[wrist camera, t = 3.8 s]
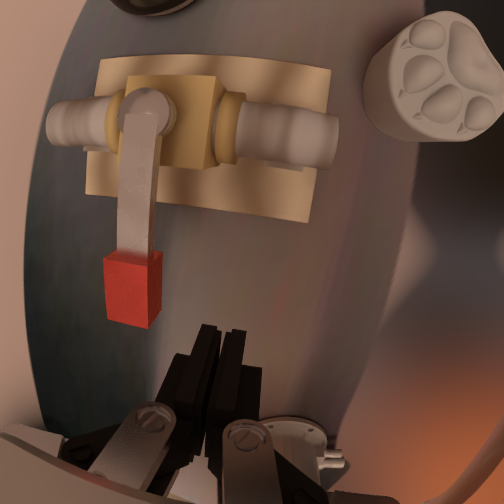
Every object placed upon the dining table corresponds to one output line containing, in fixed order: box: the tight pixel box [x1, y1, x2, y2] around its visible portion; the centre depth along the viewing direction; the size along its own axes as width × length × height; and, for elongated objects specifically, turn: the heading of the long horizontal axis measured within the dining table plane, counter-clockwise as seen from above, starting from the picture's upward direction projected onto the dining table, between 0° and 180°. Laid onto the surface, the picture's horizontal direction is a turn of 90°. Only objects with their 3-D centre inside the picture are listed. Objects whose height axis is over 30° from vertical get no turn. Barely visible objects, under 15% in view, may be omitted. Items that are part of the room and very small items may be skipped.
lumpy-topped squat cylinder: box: [362, 11, 504, 142], centre depth 19 cm, size 10×13×9 cm
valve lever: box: [103, 87, 177, 329], centre depth 16 cm, size 14×3×2 cm, turn 172°
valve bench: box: [46, 54, 339, 223], centre depth 21 cm, size 22×14×11 cm, turn 82°
